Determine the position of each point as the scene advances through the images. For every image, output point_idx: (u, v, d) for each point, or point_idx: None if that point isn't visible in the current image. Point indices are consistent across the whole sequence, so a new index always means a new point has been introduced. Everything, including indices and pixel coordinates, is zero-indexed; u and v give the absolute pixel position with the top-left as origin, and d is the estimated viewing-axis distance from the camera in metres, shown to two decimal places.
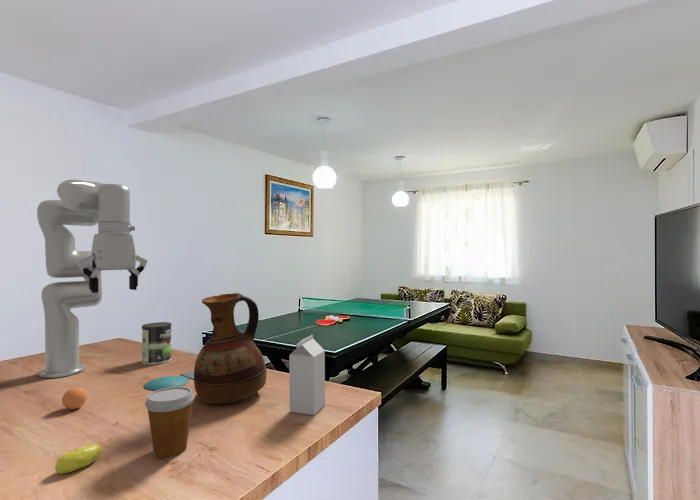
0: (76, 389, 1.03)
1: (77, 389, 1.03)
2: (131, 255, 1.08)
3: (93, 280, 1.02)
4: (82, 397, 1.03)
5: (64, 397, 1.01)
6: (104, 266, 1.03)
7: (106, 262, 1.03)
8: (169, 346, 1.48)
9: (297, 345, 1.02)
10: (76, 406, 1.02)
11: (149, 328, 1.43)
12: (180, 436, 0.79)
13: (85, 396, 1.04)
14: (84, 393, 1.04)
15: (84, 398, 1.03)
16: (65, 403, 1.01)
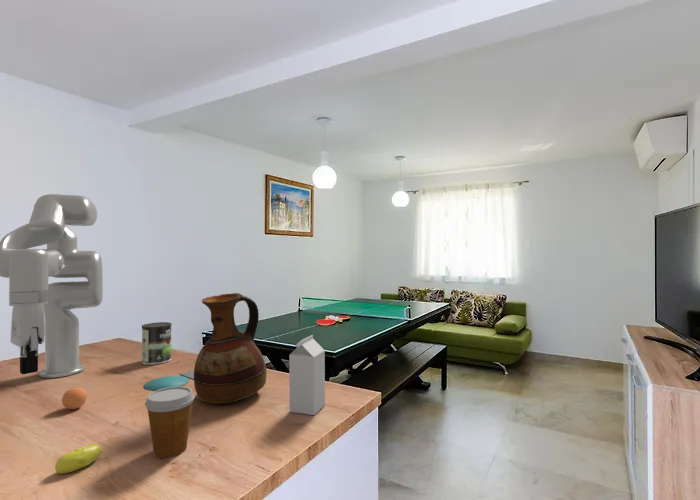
0: (76, 389, 1.03)
1: (77, 389, 1.03)
2: None
3: None
4: (82, 397, 1.03)
5: (64, 397, 1.01)
6: None
7: None
8: (169, 346, 1.48)
9: (297, 345, 1.02)
10: (76, 406, 1.02)
11: (149, 328, 1.43)
12: (180, 436, 0.79)
13: (85, 396, 1.04)
14: (84, 393, 1.04)
15: (84, 398, 1.03)
16: (65, 403, 1.01)
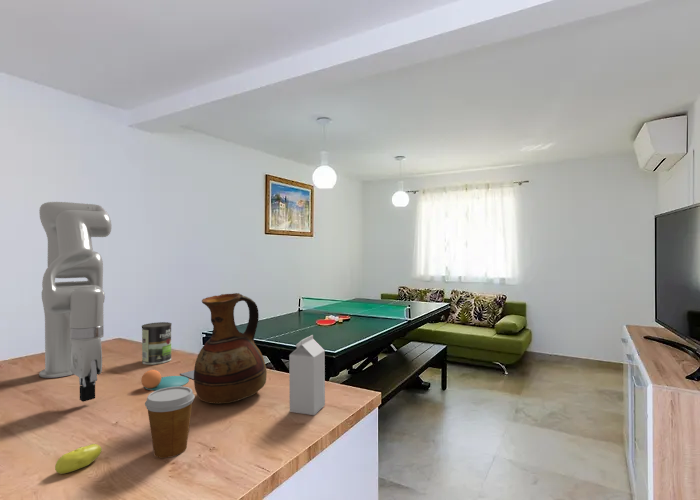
0: (158, 372, 1.19)
1: (158, 372, 1.19)
2: None
3: None
4: (158, 381, 1.18)
5: (148, 373, 1.17)
6: None
7: None
8: (169, 346, 1.48)
9: (297, 345, 1.02)
10: (150, 386, 1.17)
11: (149, 328, 1.43)
12: (180, 436, 0.79)
13: None
14: (160, 379, 1.19)
15: (158, 383, 1.18)
16: (146, 379, 1.16)
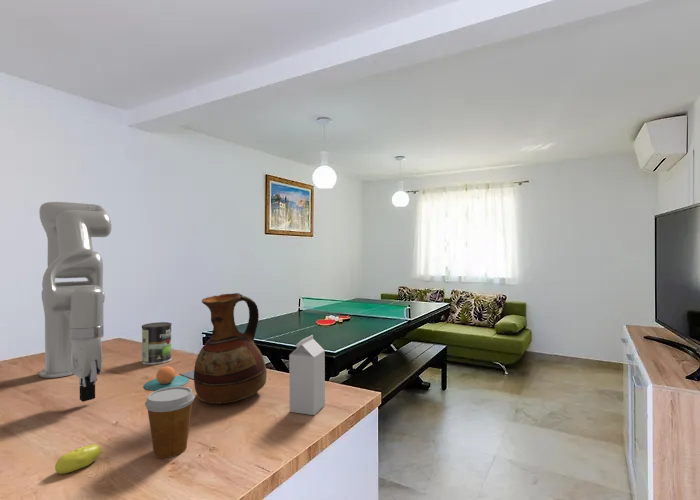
0: (173, 379, 1.23)
1: (172, 380, 1.23)
2: None
3: None
4: (167, 380, 1.20)
5: (174, 370, 1.23)
6: None
7: None
8: (169, 346, 1.48)
9: (297, 345, 1.02)
10: (164, 374, 1.20)
11: (149, 328, 1.43)
12: (180, 436, 0.79)
13: (164, 382, 1.20)
14: (167, 383, 1.21)
15: (165, 381, 1.20)
16: (171, 368, 1.22)
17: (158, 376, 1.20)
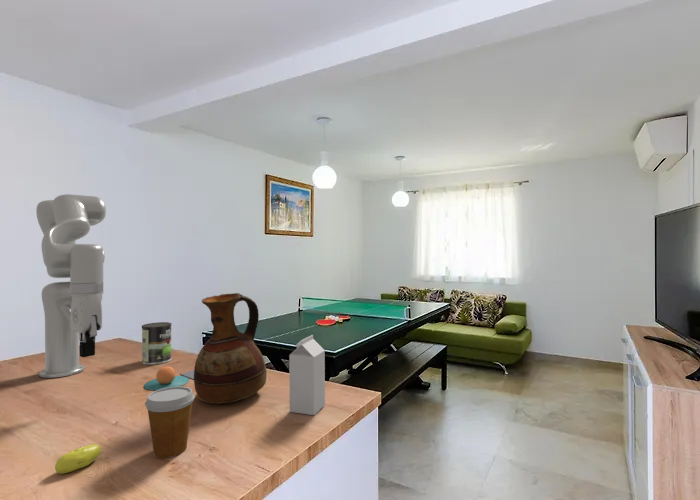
0: (173, 379, 1.23)
1: (172, 380, 1.23)
2: None
3: None
4: (167, 380, 1.20)
5: (174, 370, 1.23)
6: None
7: None
8: (169, 346, 1.48)
9: (297, 345, 1.02)
10: (164, 374, 1.20)
11: (149, 328, 1.43)
12: (180, 436, 0.79)
13: (164, 382, 1.20)
14: (167, 383, 1.21)
15: (165, 381, 1.20)
16: (171, 368, 1.22)
17: (158, 376, 1.20)
